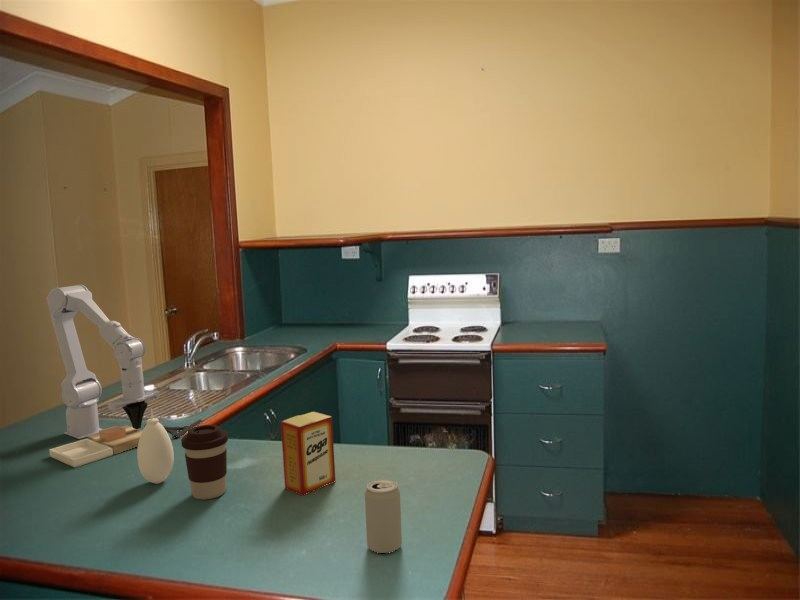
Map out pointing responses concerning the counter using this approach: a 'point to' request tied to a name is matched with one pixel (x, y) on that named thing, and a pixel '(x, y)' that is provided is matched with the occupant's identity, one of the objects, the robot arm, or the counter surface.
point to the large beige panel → (121, 440)
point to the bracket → (184, 429)
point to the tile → (112, 433)
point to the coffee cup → (206, 460)
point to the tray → (81, 452)
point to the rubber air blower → (155, 452)
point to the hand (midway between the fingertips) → (136, 428)
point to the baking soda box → (308, 452)
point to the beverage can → (383, 516)
